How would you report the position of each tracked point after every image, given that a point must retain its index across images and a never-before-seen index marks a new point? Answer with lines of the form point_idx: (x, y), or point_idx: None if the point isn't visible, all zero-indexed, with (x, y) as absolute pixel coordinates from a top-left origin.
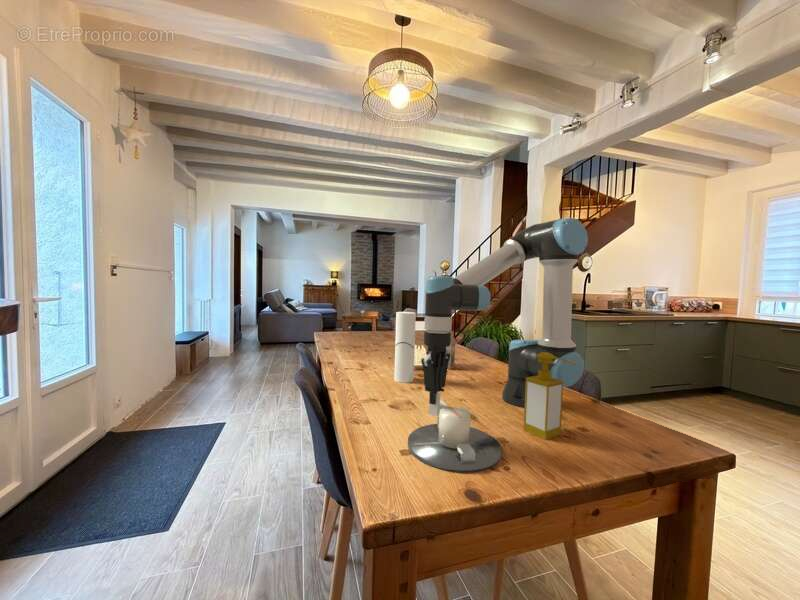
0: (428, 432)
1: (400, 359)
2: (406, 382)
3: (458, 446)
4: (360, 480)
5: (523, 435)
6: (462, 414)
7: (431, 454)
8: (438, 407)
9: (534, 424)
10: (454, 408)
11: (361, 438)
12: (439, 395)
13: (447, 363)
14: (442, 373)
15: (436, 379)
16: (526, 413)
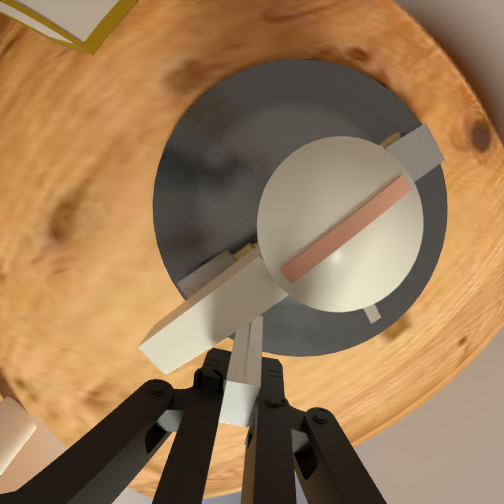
0: (278, 313)
1: (8, 451)
2: (24, 409)
3: (418, 178)
4: (486, 339)
5: (128, 42)
6: (358, 180)
7: None
8: (251, 333)
9: (99, 15)
10: (287, 245)
11: (355, 425)
12: (240, 370)
13: (39, 493)
14: (164, 479)
15: (289, 473)
16: (67, 30)
